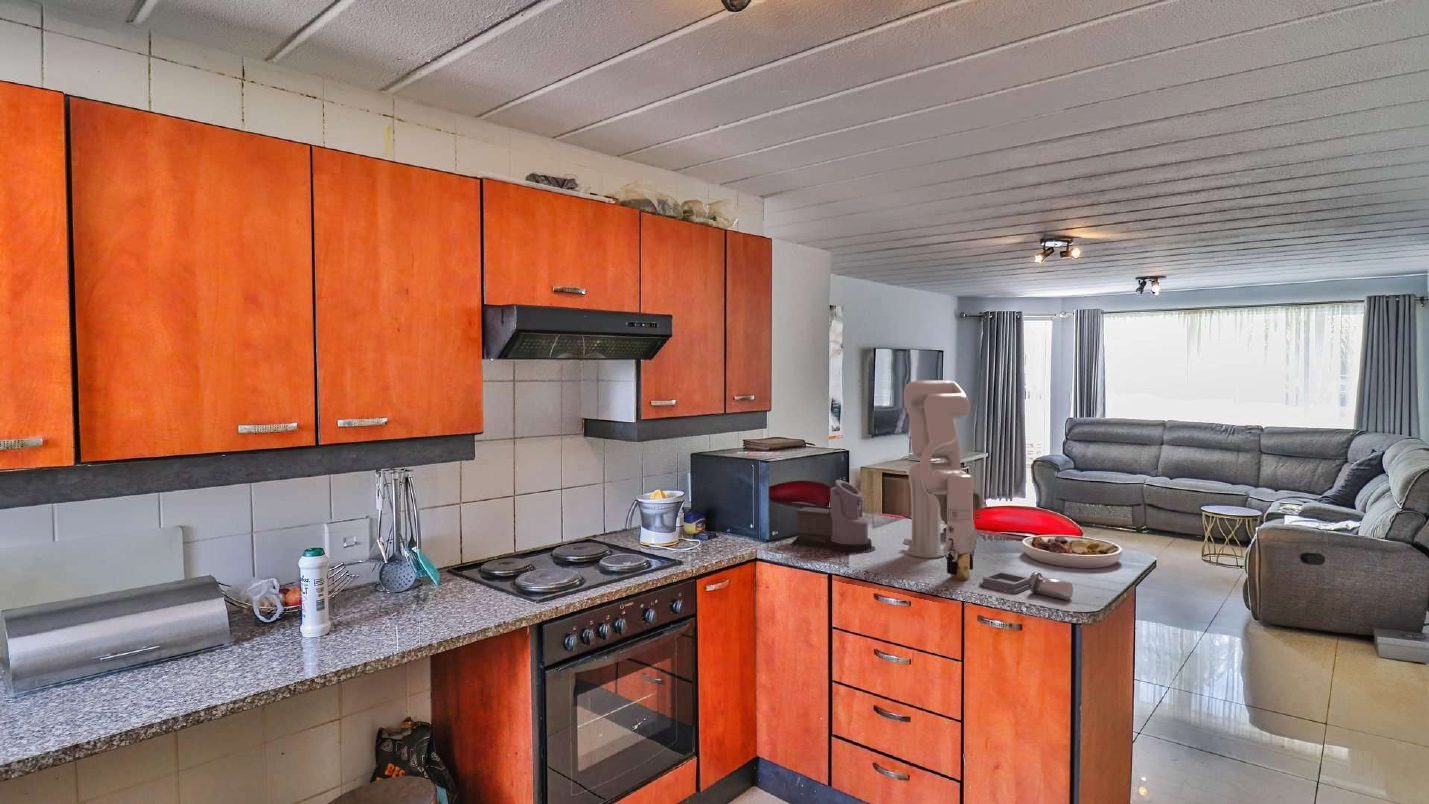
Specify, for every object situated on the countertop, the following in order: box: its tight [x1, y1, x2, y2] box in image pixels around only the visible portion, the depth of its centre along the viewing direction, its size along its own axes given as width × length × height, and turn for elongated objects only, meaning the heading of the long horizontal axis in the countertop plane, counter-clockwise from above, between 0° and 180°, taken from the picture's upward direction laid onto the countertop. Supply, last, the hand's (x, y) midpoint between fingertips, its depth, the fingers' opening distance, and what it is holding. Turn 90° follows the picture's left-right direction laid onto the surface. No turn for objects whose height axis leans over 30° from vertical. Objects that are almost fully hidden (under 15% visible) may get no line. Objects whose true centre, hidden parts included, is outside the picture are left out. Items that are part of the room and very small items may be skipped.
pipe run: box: [1029, 571, 1074, 601], centre depth 207 cm, size 10×6×6 cm, turn 40°
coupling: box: [949, 552, 971, 581], centre depth 226 cm, size 6×6×8 cm
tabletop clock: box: [939, 469, 983, 533], centre depth 287 cm, size 14×9×25 cm, turn 85°
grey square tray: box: [979, 571, 1030, 595], centre depth 217 cm, size 11×11×2 cm
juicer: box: [790, 479, 876, 555], centre depth 270 cm, size 30×16×24 cm, turn 57°
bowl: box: [1021, 534, 1123, 569], centre depth 248 cm, size 30×30×8 cm
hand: (960, 571), depth 226 cm, fingers open, 8 cm apart
